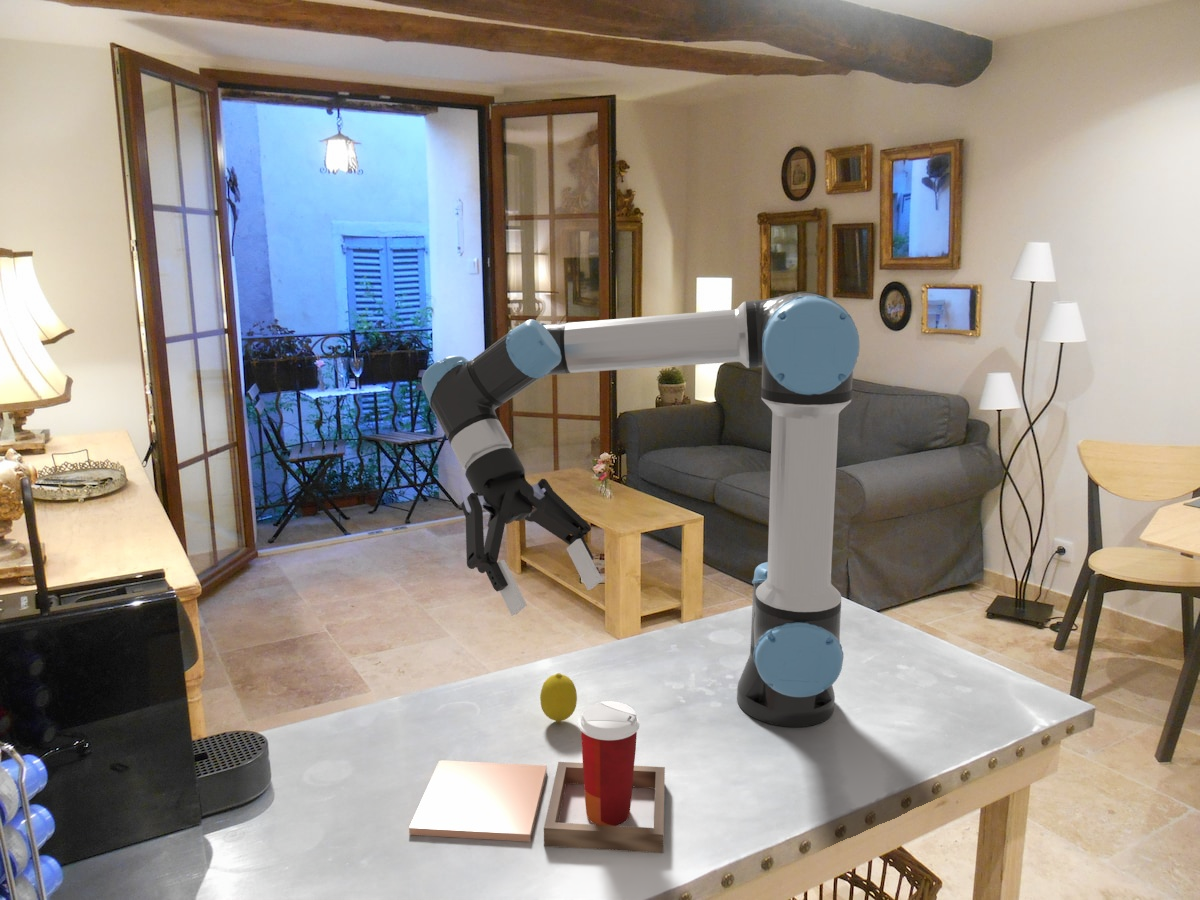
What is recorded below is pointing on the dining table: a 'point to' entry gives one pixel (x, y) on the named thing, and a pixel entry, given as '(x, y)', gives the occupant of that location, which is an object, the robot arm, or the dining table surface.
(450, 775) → the terracotta tile
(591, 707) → the paper cup
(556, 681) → the lemon
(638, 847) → the walnut frame
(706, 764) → the dining table surface
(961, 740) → the dining table surface
